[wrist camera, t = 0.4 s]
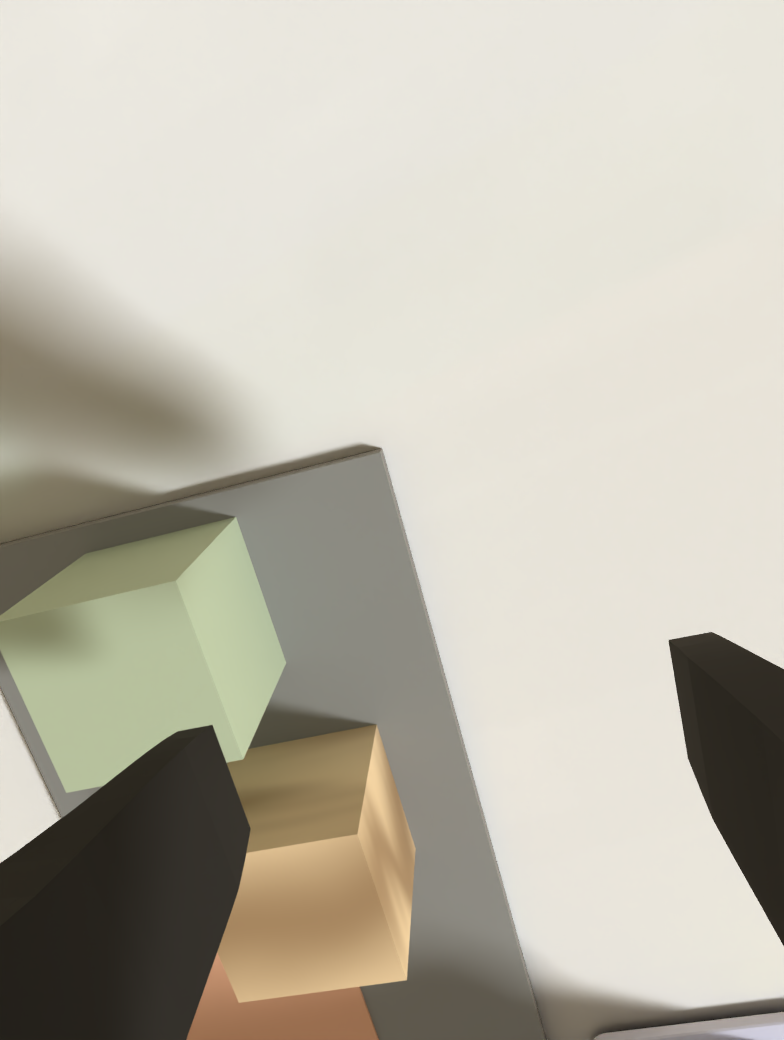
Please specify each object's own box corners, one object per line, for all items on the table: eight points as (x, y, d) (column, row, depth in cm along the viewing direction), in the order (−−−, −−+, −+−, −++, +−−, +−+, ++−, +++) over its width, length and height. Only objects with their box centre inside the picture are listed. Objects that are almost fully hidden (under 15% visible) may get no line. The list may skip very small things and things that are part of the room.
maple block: (415, 848, 23) (406, 979, 18) (278, 870, 23) (238, 1002, 19) (376, 724, 21) (357, 834, 17) (232, 751, 22) (179, 863, 18)
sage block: (286, 662, 21) (243, 759, 17) (142, 692, 22) (66, 792, 17) (236, 517, 20) (175, 580, 15) (85, 553, 20) (-13, 624, 16)
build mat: (550, 1054, 25) (552, 1072, 25) (203, 1094, 27) (198, 1111, 27) (382, 448, 19) (379, 453, 19) (-47, 556, 21) (-62, 563, 21)
